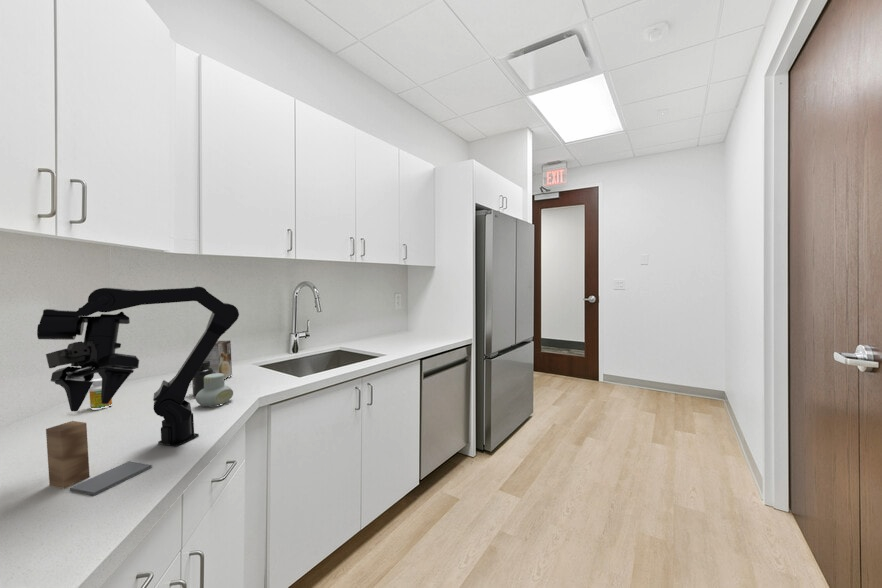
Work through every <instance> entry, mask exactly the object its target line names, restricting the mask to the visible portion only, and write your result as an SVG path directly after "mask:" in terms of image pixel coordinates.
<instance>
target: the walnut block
mask: <svg viewBox="0 0 882 588" xmlns="http://www.w3.org/2000/svg"><path fill="white" fill-rule="evenodd" d="M87 429H88V427H87V422H84V421H76V420H71V421H67V422H65V423H64V422H63V423H61V424H57V425H54V426H51V427H48V428H45V435H46V450H47V454H46V455H47V463H48V464H47V465H48V480H49V481H48V483H49V486H50V487H51V486H52V487H54V488H55V487H56V488H61V489H65V488H69V487H71V486H72V485H73V486H74V485H76V484H78V483H80V482H83V480H84V481H85V480H87V479H88V478H90V462H89V461H90V460H89V447H88V445H89V444H88V430H87Z"/></svg>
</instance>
